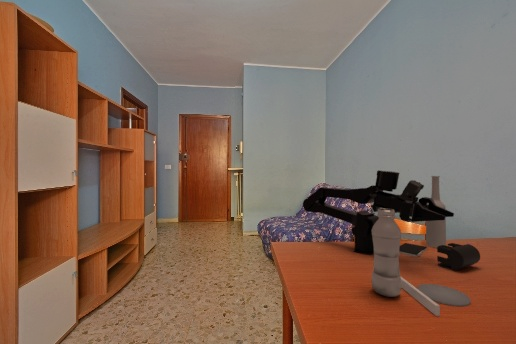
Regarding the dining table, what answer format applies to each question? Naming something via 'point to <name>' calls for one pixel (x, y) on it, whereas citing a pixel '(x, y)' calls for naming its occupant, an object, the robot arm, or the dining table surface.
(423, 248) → the smartphone
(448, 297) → the slate mat
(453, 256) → the end cap
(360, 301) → the dining table surface
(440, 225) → the bottle
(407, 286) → the frosted wall
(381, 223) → the plastic bottle
